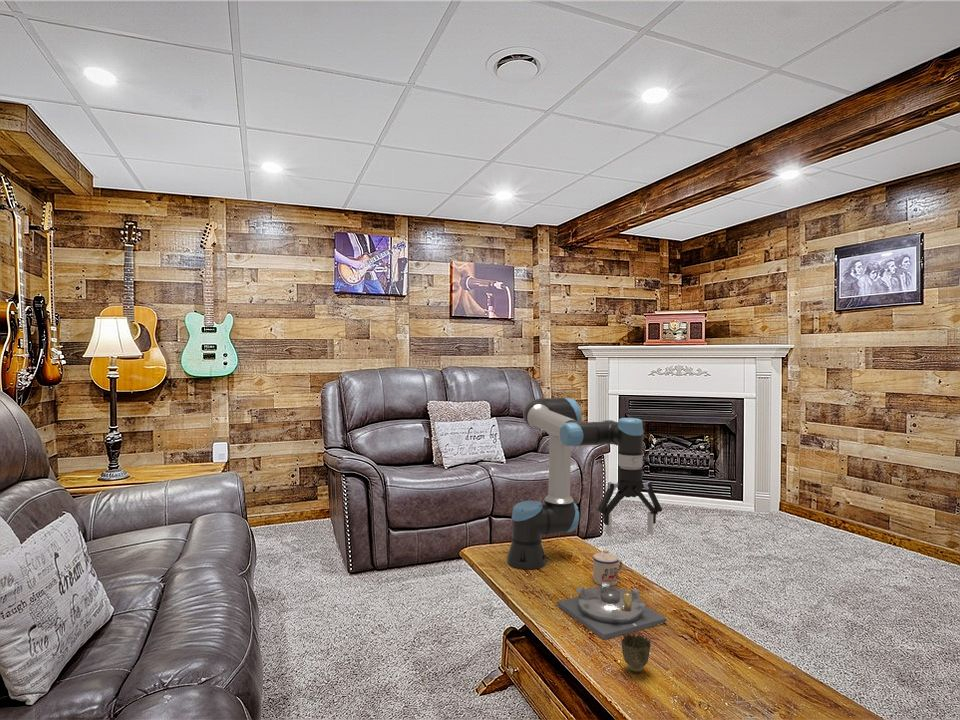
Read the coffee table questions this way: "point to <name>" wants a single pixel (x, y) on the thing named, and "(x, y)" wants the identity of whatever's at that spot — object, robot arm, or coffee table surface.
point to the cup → (635, 651)
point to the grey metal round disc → (610, 604)
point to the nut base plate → (610, 629)
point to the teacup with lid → (606, 568)
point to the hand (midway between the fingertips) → (629, 534)
